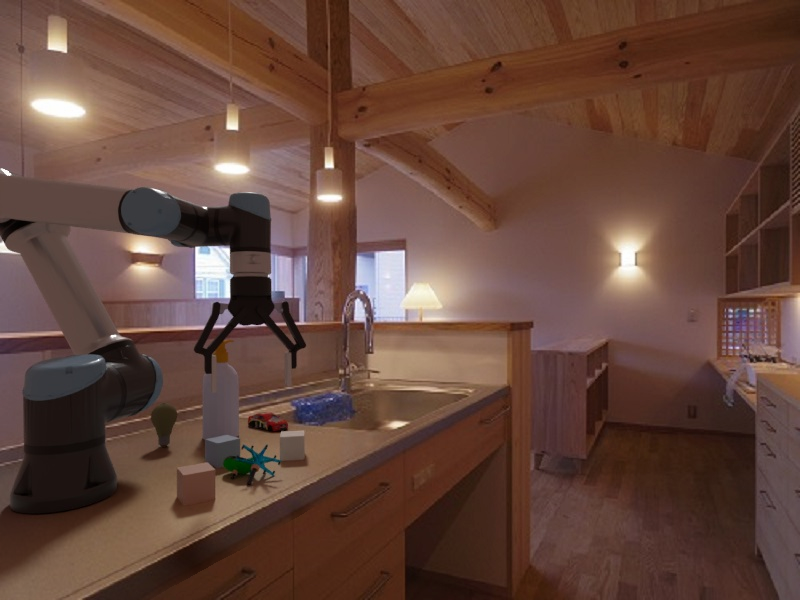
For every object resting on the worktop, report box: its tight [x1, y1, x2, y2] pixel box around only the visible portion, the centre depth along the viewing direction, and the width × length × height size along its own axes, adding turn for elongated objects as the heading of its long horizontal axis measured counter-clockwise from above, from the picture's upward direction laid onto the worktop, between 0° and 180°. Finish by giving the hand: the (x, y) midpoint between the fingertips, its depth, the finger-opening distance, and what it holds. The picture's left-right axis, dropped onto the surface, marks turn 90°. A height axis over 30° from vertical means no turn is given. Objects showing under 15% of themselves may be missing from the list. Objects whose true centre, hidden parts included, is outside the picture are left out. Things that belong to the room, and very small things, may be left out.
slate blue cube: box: [204, 435, 241, 469], centre depth 106 cm, size 5×5×5 cm
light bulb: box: [150, 402, 178, 448], centre depth 119 cm, size 6×6×10 cm
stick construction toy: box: [223, 443, 282, 486], centre depth 96 cm, size 12×7×8 cm
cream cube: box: [279, 430, 306, 462], centre depth 110 cm, size 5×5×5 cm
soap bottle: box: [201, 339, 240, 440], centre depth 128 cm, size 9×9×24 cm
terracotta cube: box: [176, 462, 216, 507], centre depth 86 cm, size 5×5×5 cm
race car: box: [247, 411, 289, 433], centre depth 137 cm, size 13×5×4 cm, turn 50°
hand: (252, 389), depth 97 cm, fingers open, 13 cm apart
